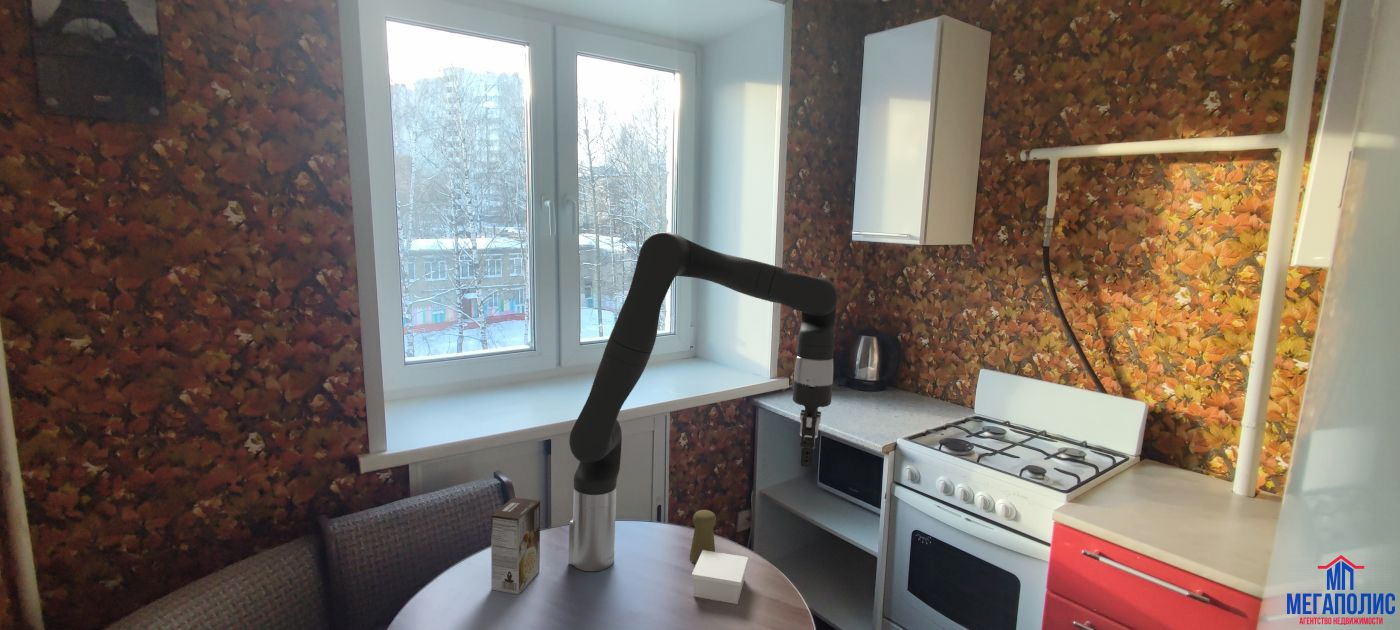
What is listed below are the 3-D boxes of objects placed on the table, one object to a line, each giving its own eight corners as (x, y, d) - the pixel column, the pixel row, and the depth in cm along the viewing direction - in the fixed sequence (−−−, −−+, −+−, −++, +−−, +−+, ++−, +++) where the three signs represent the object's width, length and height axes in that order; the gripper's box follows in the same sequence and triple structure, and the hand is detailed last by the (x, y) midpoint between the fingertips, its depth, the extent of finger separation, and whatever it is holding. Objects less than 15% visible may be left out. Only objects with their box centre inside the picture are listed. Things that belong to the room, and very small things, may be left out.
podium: (690, 597, 123) (691, 574, 123) (701, 571, 133) (702, 550, 132) (739, 606, 121) (740, 582, 121) (746, 579, 131) (748, 557, 130)
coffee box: (512, 567, 131) (513, 495, 129) (540, 571, 130) (541, 499, 128) (490, 590, 122) (490, 514, 120) (519, 595, 121) (520, 518, 119)
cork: (696, 549, 143) (698, 504, 141) (720, 556, 140) (722, 510, 139) (684, 560, 137) (686, 514, 136) (709, 568, 135) (711, 520, 133)
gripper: (796, 370, 128) (791, 445, 130) (791, 385, 114) (785, 469, 116) (833, 373, 126) (827, 449, 128) (832, 389, 112) (825, 474, 114)
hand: (807, 458), depth 122 cm, fingers open, 8 cm apart
